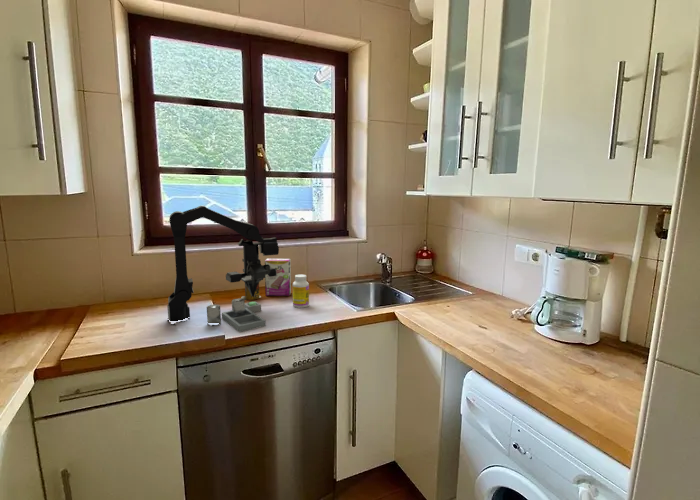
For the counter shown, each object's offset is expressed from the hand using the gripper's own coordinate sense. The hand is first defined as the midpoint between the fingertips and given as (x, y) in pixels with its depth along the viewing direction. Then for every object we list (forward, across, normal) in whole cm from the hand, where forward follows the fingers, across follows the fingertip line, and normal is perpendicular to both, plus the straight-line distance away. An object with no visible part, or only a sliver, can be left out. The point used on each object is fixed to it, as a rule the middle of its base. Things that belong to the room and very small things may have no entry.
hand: (252, 295), depth 149 cm
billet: (+6, -17, -6) cm, 19 cm away
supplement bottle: (+7, +19, -5) cm, 21 cm away
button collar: (+6, 0, 0) cm, 6 cm away
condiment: (+7, +6, +16) cm, 18 cm away
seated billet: (+6, -8, -6) cm, 12 cm away
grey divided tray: (+6, -8, -10) cm, 14 cm away
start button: (+6, 0, 0) cm, 6 cm away
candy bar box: (+7, +19, +15) cm, 25 cm away
